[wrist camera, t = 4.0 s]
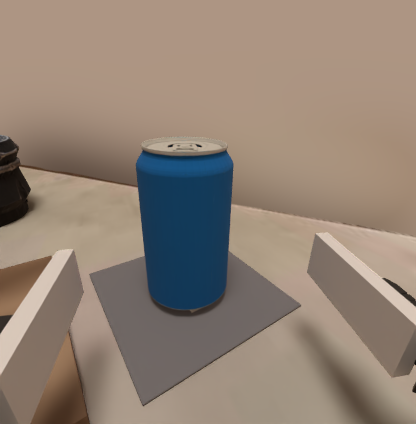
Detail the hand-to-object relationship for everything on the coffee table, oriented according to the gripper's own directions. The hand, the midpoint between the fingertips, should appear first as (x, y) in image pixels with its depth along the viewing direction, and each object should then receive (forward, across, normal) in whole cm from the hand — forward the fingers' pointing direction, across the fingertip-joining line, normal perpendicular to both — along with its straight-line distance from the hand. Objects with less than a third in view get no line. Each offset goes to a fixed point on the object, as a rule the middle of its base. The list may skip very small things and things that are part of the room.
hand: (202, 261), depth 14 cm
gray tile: (+6, 0, -7) cm, 9 cm away
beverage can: (+6, 0, -7) cm, 9 cm away
